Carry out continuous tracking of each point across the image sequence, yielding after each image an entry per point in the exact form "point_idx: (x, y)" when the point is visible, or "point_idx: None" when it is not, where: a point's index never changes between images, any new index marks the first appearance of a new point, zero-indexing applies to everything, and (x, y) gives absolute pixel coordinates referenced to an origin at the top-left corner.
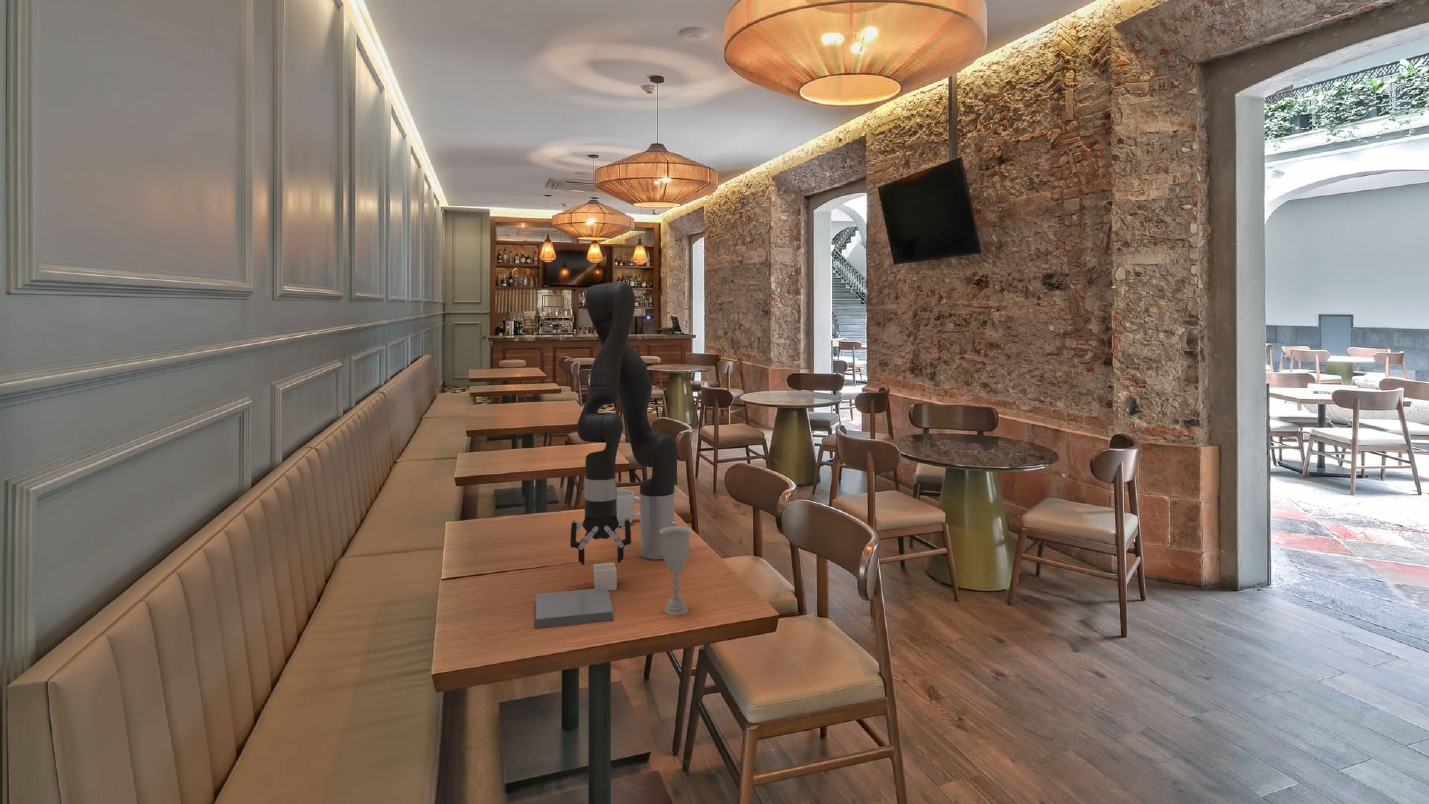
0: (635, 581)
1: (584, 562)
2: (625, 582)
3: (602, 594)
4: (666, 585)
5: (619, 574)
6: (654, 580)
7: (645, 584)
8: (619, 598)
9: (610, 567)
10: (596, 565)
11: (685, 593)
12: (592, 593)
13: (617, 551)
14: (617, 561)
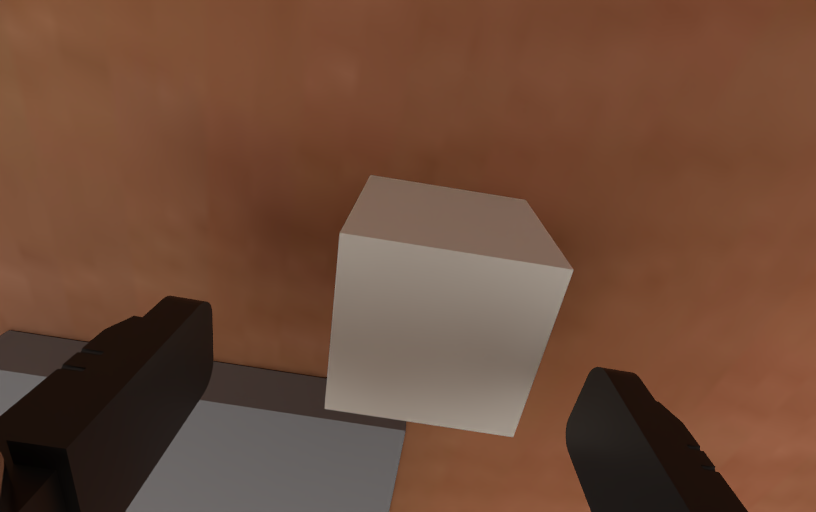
0: (668, 248)
1: (197, 402)
2: (595, 238)
3: (356, 494)
4: (798, 383)
5: (638, 34)
6: (797, 282)
7: (696, 322)
8: (460, 436)
9: (483, 379)
10: (365, 280)
11: (799, 500)
12: (303, 467)
13: (635, 503)
14: (581, 390)
